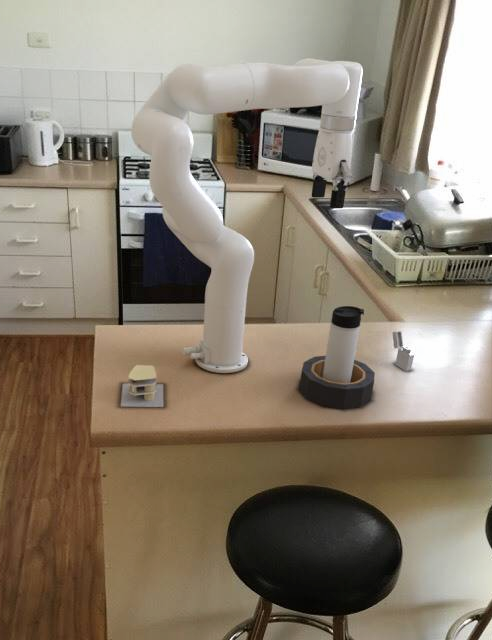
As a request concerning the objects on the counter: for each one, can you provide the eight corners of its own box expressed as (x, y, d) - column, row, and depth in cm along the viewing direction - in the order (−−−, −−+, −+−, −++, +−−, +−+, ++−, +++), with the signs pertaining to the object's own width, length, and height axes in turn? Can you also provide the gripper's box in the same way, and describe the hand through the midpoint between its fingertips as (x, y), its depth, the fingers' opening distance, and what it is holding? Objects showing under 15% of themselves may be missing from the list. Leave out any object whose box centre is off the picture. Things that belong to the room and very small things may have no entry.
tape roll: (318, 412, 149) (321, 391, 146) (289, 377, 162) (291, 358, 160) (383, 404, 154) (387, 384, 151) (350, 371, 167) (353, 352, 164)
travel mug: (349, 399, 155) (364, 316, 145) (319, 394, 156) (332, 311, 146) (350, 386, 160) (364, 305, 150) (321, 382, 161) (334, 301, 151)
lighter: (411, 370, 169) (418, 340, 166) (406, 371, 169) (412, 341, 165) (392, 357, 175) (398, 328, 171) (386, 359, 174) (392, 329, 170)
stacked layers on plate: (122, 383, 155) (122, 361, 152) (163, 384, 155) (163, 362, 153) (120, 406, 146) (120, 383, 143) (163, 407, 147) (163, 384, 144)
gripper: (305, 117, 158) (297, 193, 167) (340, 130, 144) (328, 213, 152) (335, 117, 160) (325, 193, 169) (372, 130, 146) (359, 212, 155)
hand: (326, 202), depth 161 cm, fingers open, 9 cm apart
